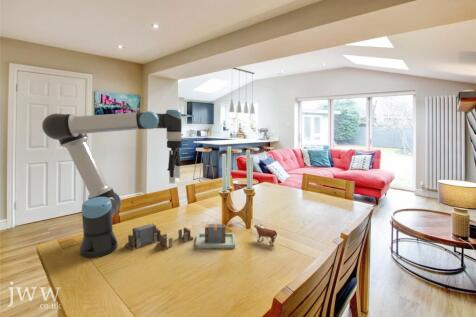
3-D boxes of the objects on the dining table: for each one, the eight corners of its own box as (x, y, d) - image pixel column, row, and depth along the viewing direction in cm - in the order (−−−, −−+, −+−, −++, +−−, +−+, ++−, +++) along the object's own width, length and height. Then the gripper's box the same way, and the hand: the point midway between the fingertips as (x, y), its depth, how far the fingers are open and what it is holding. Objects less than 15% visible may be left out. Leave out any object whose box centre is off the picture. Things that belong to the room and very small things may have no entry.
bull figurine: (255, 236, 132) (256, 221, 131) (278, 244, 123) (278, 228, 122) (250, 239, 128) (251, 223, 127) (273, 247, 120) (274, 231, 119)
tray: (194, 248, 117) (194, 245, 117) (197, 236, 130) (197, 233, 130) (235, 248, 118) (235, 244, 118) (234, 236, 131) (234, 233, 131)
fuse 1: (136, 247, 118) (135, 231, 117) (133, 244, 121) (132, 228, 120) (156, 240, 125) (156, 225, 124) (153, 238, 128) (152, 223, 126)
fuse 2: (205, 242, 122) (205, 227, 121) (205, 239, 126) (205, 224, 125) (225, 242, 122) (225, 227, 121) (225, 239, 126) (225, 224, 125)
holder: (130, 250, 115) (129, 240, 114) (125, 245, 119) (125, 235, 119) (163, 239, 126) (163, 230, 125) (157, 235, 131) (157, 226, 130)
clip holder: (163, 249, 116) (162, 239, 115) (157, 245, 120) (156, 235, 120) (193, 239, 127) (193, 230, 126) (186, 235, 131) (186, 226, 131)
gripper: (177, 141, 117) (177, 185, 119) (185, 139, 141) (185, 175, 144) (160, 141, 116) (161, 185, 119) (172, 138, 141) (172, 175, 144)
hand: (175, 180), depth 132 cm, fingers open, 13 cm apart
